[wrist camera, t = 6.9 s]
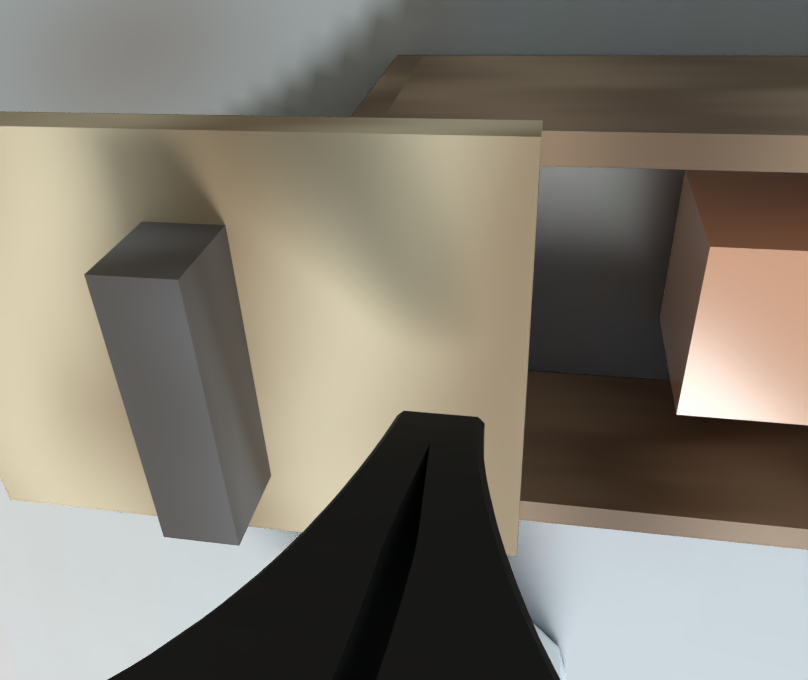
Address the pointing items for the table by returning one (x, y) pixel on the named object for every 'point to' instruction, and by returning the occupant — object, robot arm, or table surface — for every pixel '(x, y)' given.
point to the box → (631, 397)
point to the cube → (739, 297)
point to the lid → (256, 306)
